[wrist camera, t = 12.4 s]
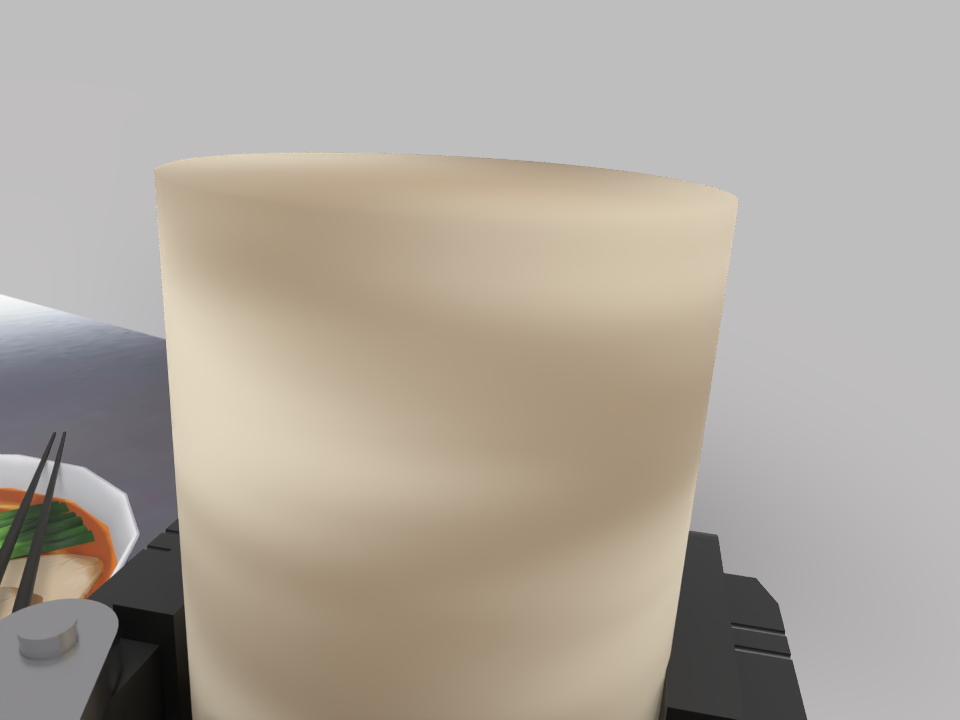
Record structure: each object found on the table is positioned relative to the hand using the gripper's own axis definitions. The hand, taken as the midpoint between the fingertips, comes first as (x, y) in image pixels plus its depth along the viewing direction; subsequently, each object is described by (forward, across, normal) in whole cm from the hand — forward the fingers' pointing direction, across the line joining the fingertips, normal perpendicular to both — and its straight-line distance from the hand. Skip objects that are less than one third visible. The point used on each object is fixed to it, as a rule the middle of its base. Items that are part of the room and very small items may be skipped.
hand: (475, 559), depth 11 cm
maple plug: (-3, 0, +8) cm, 9 cm away
